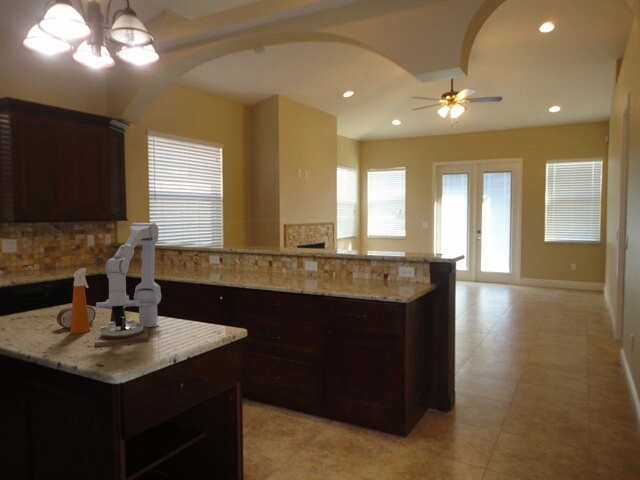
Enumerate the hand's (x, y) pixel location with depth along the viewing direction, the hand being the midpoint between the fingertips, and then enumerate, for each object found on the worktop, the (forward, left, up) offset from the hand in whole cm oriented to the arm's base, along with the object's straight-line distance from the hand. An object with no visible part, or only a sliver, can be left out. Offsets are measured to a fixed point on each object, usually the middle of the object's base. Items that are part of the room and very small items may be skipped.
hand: (118, 326), depth 171 cm
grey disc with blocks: (-5, +1, -4) cm, 7 cm away
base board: (-5, +1, -6) cm, 8 cm away
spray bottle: (-19, -14, -6) cm, 24 cm away
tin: (-31, -17, -6) cm, 36 cm away
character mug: (-30, -1, -6) cm, 31 cm away
